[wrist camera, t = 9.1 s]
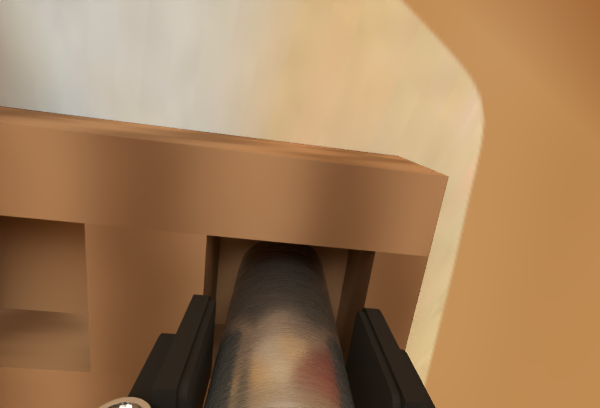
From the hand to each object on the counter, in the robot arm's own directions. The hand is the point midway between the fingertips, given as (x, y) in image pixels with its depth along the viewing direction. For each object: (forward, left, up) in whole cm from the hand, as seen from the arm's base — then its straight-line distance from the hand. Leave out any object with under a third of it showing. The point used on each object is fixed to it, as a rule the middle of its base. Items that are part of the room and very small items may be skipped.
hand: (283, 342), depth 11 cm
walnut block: (0, +5, -6) cm, 8 cm away
